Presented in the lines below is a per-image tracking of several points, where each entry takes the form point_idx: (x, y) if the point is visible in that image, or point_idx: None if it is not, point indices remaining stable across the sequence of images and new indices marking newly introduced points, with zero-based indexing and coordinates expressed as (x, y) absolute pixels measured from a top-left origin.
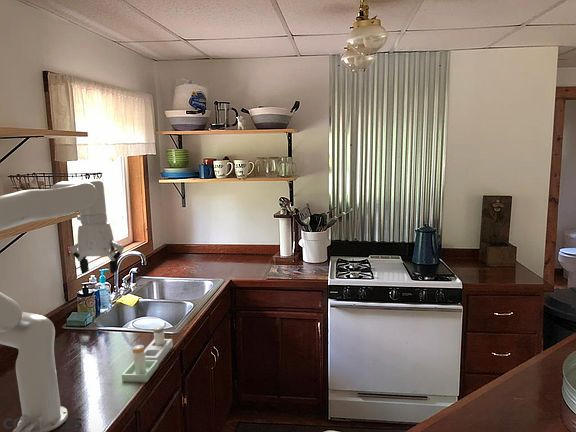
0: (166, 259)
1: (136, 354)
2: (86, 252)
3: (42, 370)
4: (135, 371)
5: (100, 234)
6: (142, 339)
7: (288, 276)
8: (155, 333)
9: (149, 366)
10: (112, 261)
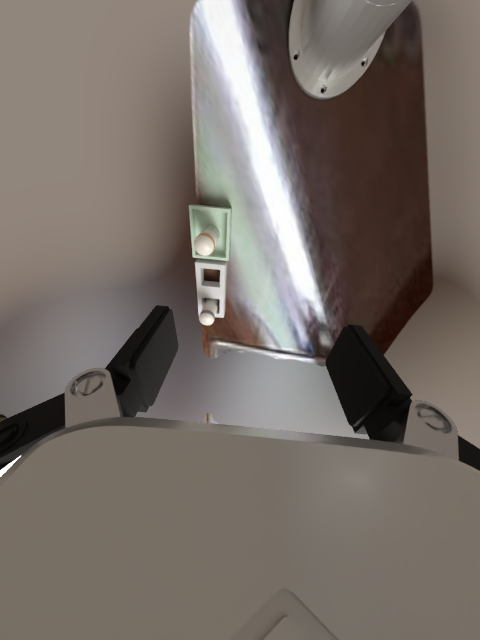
0: None
1: (205, 233)
2: (406, 520)
3: None
4: (216, 228)
5: None
6: (249, 330)
7: None
8: (209, 310)
9: None
10: (119, 371)
